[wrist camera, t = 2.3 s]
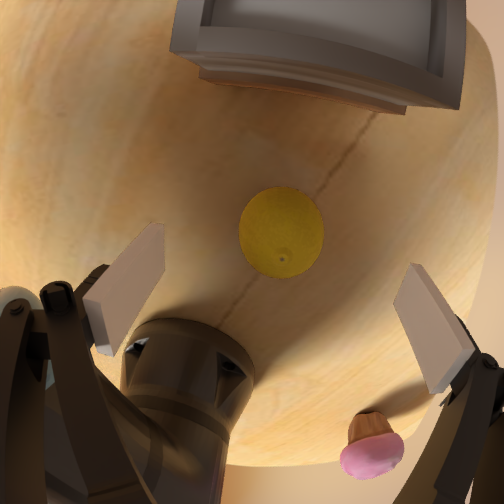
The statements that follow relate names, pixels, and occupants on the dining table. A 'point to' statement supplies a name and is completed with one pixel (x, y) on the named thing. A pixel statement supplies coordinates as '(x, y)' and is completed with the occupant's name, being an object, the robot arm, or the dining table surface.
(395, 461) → the cupcake
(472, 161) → the dining table surface
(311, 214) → the lemon
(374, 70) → the grey storage bin
